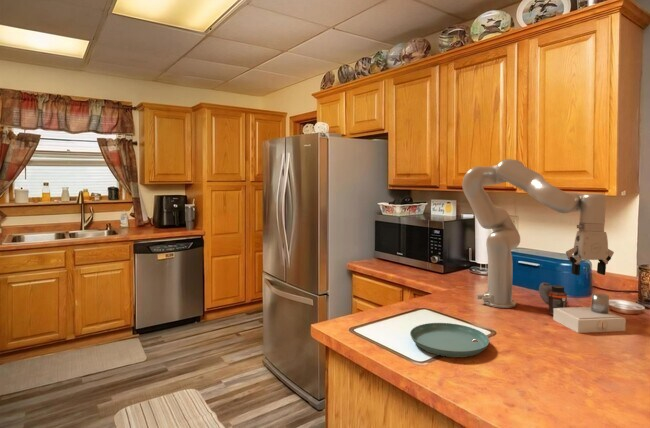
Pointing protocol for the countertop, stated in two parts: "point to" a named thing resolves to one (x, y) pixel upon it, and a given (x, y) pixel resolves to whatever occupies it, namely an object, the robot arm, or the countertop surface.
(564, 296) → the supplement bottle
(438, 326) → the saucer
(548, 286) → the perforated stone tool
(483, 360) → the countertop surface
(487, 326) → the countertop surface
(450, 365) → the countertop surface
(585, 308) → the scale
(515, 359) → the countertop surface
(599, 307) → the spacer
